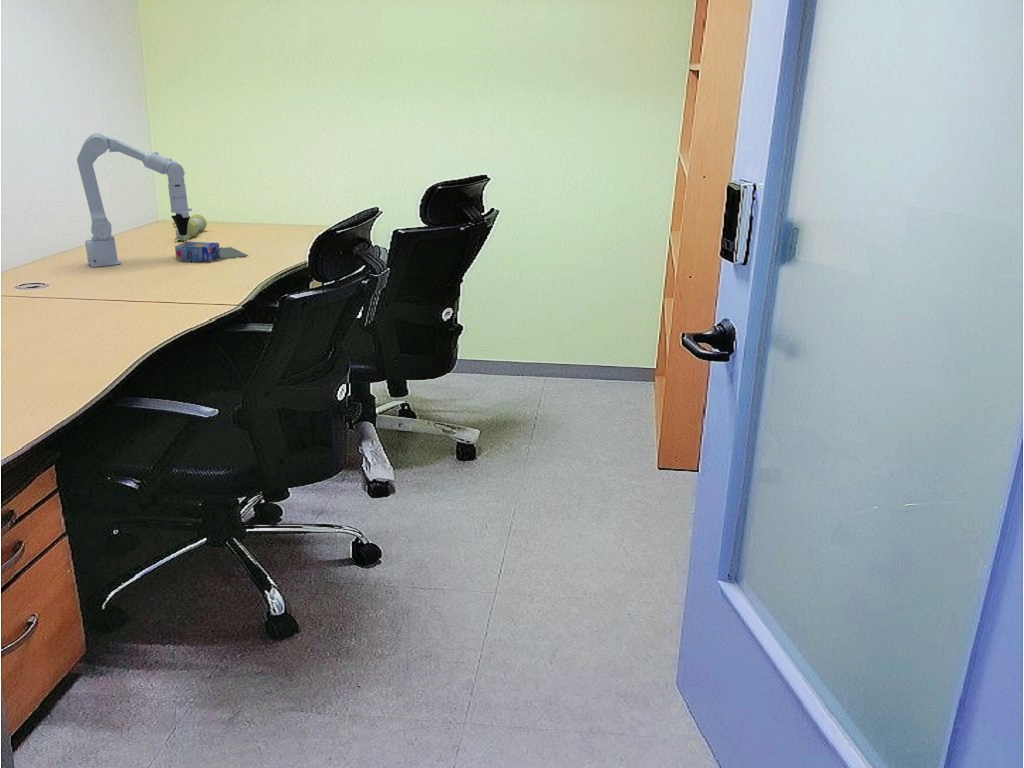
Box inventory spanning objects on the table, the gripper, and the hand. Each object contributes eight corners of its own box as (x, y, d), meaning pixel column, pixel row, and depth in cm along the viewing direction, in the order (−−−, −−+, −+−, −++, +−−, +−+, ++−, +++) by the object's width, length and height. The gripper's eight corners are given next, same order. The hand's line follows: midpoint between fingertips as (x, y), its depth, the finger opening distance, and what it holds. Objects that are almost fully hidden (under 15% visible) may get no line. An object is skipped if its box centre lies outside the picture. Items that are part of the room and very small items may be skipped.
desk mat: (193, 262, 296) (192, 261, 296) (177, 253, 312) (177, 252, 311) (248, 256, 307) (248, 255, 307) (230, 248, 323) (230, 247, 322)
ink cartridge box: (187, 240, 304) (225, 242, 303) (188, 255, 306) (226, 257, 305) (174, 245, 295) (213, 247, 294) (175, 260, 297) (214, 263, 296)
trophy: (188, 213, 357) (167, 223, 329) (206, 213, 358) (186, 223, 329) (190, 232, 360) (169, 244, 331) (208, 232, 360) (189, 244, 332)
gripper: (195, 198, 293) (200, 236, 298) (184, 194, 304) (188, 231, 309) (174, 199, 289) (180, 238, 294) (163, 195, 301) (169, 233, 305)
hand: (183, 235), depth 301 cm, fingers closed
